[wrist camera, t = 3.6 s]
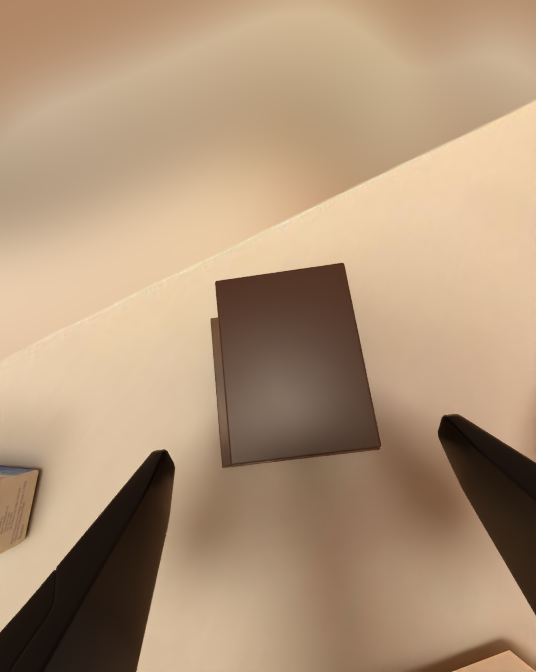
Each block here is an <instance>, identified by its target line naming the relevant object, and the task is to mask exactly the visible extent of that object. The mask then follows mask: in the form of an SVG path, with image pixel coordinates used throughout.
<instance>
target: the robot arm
mask: <svg viewBox="0 0 536 672" xmlns="http://www.w3.org/2000/svg"><path fill="white" fill-rule="evenodd" d="M438 437H439V440H440V442H441V444H442V446H443V449H444V451H445V453H446V455H447V457H448V459H449V462H450V464H451V466H452V468H453V470H454V473H455V475H456V477H457V479H458V481H459V483H460V485H461V487H462V489H463V491H464V493H465V495H466V496H467V498H468V500H469V501H470V503H471V505H472V507H473V508H474V510H475V512H476V513H477V515H478V517H479V519H480V520H481V522H482V524H483V525H484V527H485V529H486V531H487V532H488V534H489V536H490V537H491V539H492V541H493V543H494V544H495V546H496V548H497V550H498V551H499V553H500V555H501V556H502V558H503V560H504V562H505V563H506V565H507V567H508V568H509V570H510V572H511V574H512V575H513V577H514V579H515V580H516V582H517V584H518V586H519V587H520V589H521V591H522V593H523V594H524V596H525V598H526V599H527V601H528V603H529V605H530V606H531V608H532V610H533V611H534V613H535V615H536V463H535V462H534V461H532V460H531V459H529V458H527V457H526V456H524V455H523V454H521V453H519V452H518V451H516V450H515V449H513V448H511V447H510V446H508V445H507V444H505V443H503V442H502V441H500V440H499V439H497V438H496V437H494V436H492V435H491V434H489V433H488V432H486V431H484V430H483V429H481V428H480V427H478V426H476V425H475V424H473V423H472V422H470V421H468V420H467V419H465V418H464V417H462V416H460V415H458V414H449V415H444V416H443V417H442V419H441V423H440V426H439V430H438ZM174 473H175V466H174V462H173V461H172V459H171V457H170V455H169V453H168V451H167V450H165V449H163V450H156V451H153V452H152V453H151V454H150V455H149V456H148V458H147V459H146V460H145V461H144V462H143V464H142V465H141V466H140V467H139V469H138V470H137V471H136V472H135V473H134V475H133V476H132V477H131V478H130V479H129V481H128V482H127V483H126V484H125V485H124V487H123V488H122V489H121V490H120V491H119V493H118V494H117V495H116V496H115V497H114V499H113V500H112V501H111V502H110V503H109V505H108V506H107V507H106V508H105V509H104V511H103V512H102V513H101V514H100V515H99V517H98V518H97V519H96V520H95V522H94V523H93V524H92V525H91V526H90V528H89V529H88V530H87V531H86V532H85V534H84V535H83V536H82V537H81V538H80V540H79V541H78V542H77V543H76V544H75V546H74V547H73V548H72V549H71V550H70V552H69V553H68V554H67V555H66V556H65V558H64V559H63V560H62V561H61V562H60V564H59V565H58V566H57V568H56V570H54V571H53V572H52V573H51V574H50V576H49V577H48V578H47V579H46V580H45V582H44V583H43V584H42V585H41V586H40V588H39V589H38V590H37V591H36V592H35V593H34V595H33V596H32V597H31V598H30V599H29V600H28V602H27V603H26V604H25V605H24V606H23V607H22V609H21V610H20V611H19V612H18V613H17V614H16V615H15V616H14V618H13V619H12V620H11V621H10V622H9V623H8V624H7V625H6V626H5V628H4V629H3V630H2V631H1V632H0V672H136V670H137V666H138V661H139V656H140V652H141V647H142V643H143V638H144V633H145V629H146V624H147V620H148V615H149V610H150V606H151V601H152V597H153V592H154V587H155V583H156V578H157V574H158V569H159V564H160V560H161V555H162V551H163V546H164V541H165V537H166V532H167V527H168V522H169V516H170V508H171V500H172V491H173V482H174Z"/></svg>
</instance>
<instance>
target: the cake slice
mask: <svg viewBox="0 0 536 672" xmlns="http://www.w3.org/2000/svg"><path fill="white" fill-rule="evenodd" d="M215 286H216V298H217V310H218V321H219V333H220V345H221V357H222V369H223V380H224V392H225V404H226V416H227V427H228V439H229V451H230V463H231V465H239V464H248V463H256V462H265V461H273V460H282V459H290V458H299V457H307V456H316V455H324V454H333V453H341V452H350V451H358V450H367V449H375V448H380V447H381V442H380V437H379V432H378V427H377V422H376V418H375V413H374V408H373V403H372V398H371V393H370V388H369V383H368V378H367V373H366V369H365V364H364V359H363V354H362V349H361V344H360V339H359V334H358V329H357V324H356V320H355V315H354V310H353V305H352V300H351V295H350V290H349V285H348V280H347V275H346V271H345V266H344V263H338V264H332V265H325V266H318V267H311V268H304V269H297V270H290V271H283V272H276V273H269V274H262V275H255V276H248V277H242V278H235V279H228V280H221V281H216V282H215Z"/></svg>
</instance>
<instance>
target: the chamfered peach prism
mask: <svg viewBox="0 0 536 672" xmlns="http://www.w3.org/2000/svg"><path fill="white" fill-rule="evenodd" d="M453 672H536V671H534V670H533V669H532V668H531V667H530V666H528V665H527V664H526V663H525V662H523V661H522V660H521V659H520V658H519V657H517V656H516V655H515V654H514V653H512V652H511V651H510V650H508V651H506V652H503V653H500V654H498V655H495V656H492V657H490V658H487V659H484V660H482V661H479V662H476V663H474V664H471V665H468V666H466V667H463V668H461V669H458V670H455V671H453Z"/></svg>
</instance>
